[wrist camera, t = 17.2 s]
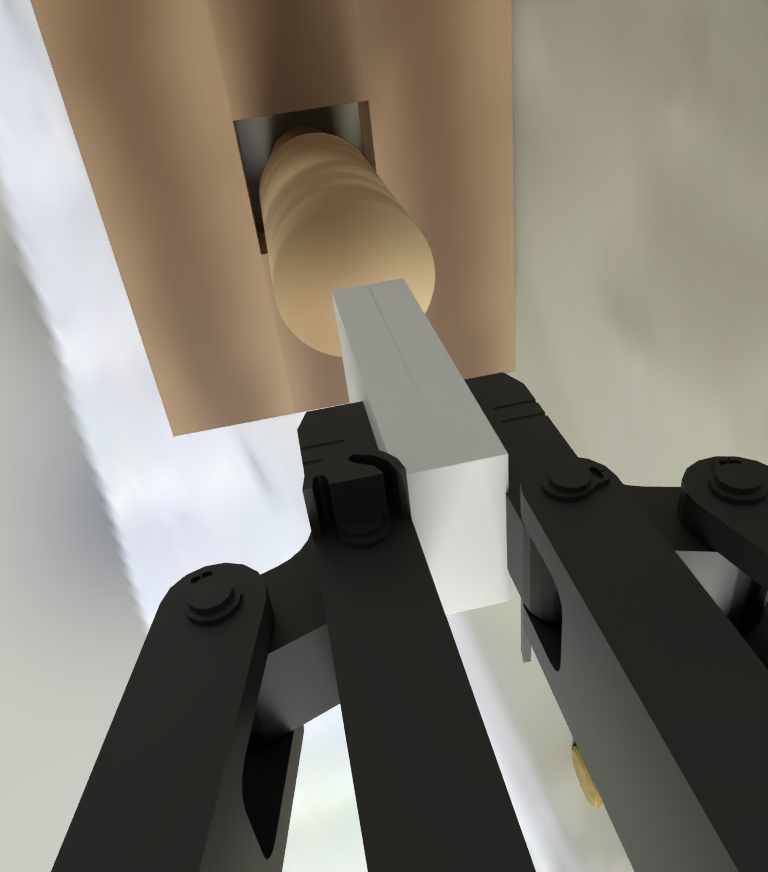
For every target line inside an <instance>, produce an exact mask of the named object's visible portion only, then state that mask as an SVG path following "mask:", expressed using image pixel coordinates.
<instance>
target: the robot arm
mask: <svg viewBox="0 0 768 872" xmlns="http://www.w3.org/2000/svg"><path fill="white" fill-rule="evenodd" d="M332 296H333V302H334V308H335V315H336V321H337V327H338V333H339V340H340V346H341V352H342V358H343V365H344V371H345V377H346V383H347V390H348V396H349V402H350V404H345V405H340V406H335V407H329V408H324V409H319V410H314V411H309V412H306V414H305V416H304V418H303V420H302V422H301V424H300V426H299V427H298V429H297V432H298V438H299V444H300V450H301V456H302V462H303V468H304V474H305V477H304V483H303V489H302V490H303V495H304V499H305V504H306V508H307V513H308V518H309V522H310V527H311V533H310V536H309V539H308V541H307V542H306V543H305V545H304V546H303V547H302V549H301V550H300V551H299V552H298V553H297V554H295V555H294V556H293V557H292V558H291V559H289V560H288V561H286V562H284V563H283V564H281V565H279V566H277V567H276V568H273V569H271V570H269V571H267V572H265V573H263V574H261V575H260V574H259V573H258V572H257V571H255V570H253V569H251V568H249V567H247V566H245V565H243V564H233V563H221V564H216V565H210V566H205V567H203V568H201V569H199V570H196V571H194V572H192V573H190V574H188V575H186V576H185V577H183V578H182V579H181V580H180V581H178V582H177V583H176V584H175V585H173V586H172V587H171V588H170V589H169V591H168V592H167V594H166V595H165V597H164V598H163V600H162V602H161V603H160V605H159V608H158V610H157V613H156V615H155V618H154V620H153V622H152V625H151V627H150V630H149V632H148V635H147V637H146V640H145V642H144V645H143V647H142V650H141V652H140V655H139V657H138V659H137V662H136V664H135V667H134V669H133V672H132V674H131V677H130V679H129V681H128V684H127V686H126V689H125V691H124V694H123V696H122V699H121V701H120V704H119V706H118V708H117V711H116V713H115V716H114V719H113V721H112V723H111V726H110V728H109V731H108V733H107V735H106V738H105V740H104V743H103V745H102V748H101V750H100V753H99V755H98V758H97V760H96V763H95V765H94V767H93V770H92V772H91V775H90V777H89V780H88V782H87V785H86V787H85V789H84V792H83V795H82V797H81V799H80V802H79V804H78V807H77V809H76V812H75V814H74V817H73V819H72V822H71V824H70V826H69V829H68V831H67V834H66V837H65V839H64V841H63V844H62V846H61V848H60V851H59V854H58V856H57V858H56V861H55V863H54V866H53V868H52V871H51V872H282V867H283V861H284V855H285V848H286V842H287V836H288V829H289V823H290V817H291V810H292V804H293V797H294V791H295V785H296V778H297V772H298V766H299V759H300V753H301V747H302V740H303V734H304V724H305V723H307V722H308V721H310V720H312V719H314V718H315V717H317V716H319V715H321V714H322V713H324V712H326V711H328V710H329V709H331V708H333V707H335V706H336V705H338V704H340V705H341V711H342V717H343V723H344V729H345V735H346V741H347V747H348V753H349V759H350V765H351V772H352V778H353V784H354V790H355V796H356V802H357V808H358V814H359V820H360V826H361V832H362V838H363V845H364V851H365V857H366V863H367V869H368V872H536V871H535V868H534V865H533V862H532V859H531V856H530V853H529V851H528V848H527V845H526V842H525V839H524V836H523V834H522V831H521V828H520V825H519V822H518V819H517V817H516V814H515V811H514V808H513V805H512V802H511V799H510V797H509V794H508V791H507V788H506V785H505V782H504V780H503V777H502V774H501V771H500V768H499V765H498V763H497V760H496V757H495V754H494V751H493V748H492V745H491V743H490V740H489V737H488V734H487V731H486V728H485V726H484V723H483V720H482V717H481V714H480V711H479V709H478V706H477V703H476V700H475V697H474V694H473V691H472V689H471V686H470V683H469V680H468V677H467V674H466V672H465V669H464V666H463V663H462V660H461V657H460V655H459V652H458V649H457V646H456V643H455V640H454V637H453V635H452V632H451V629H450V626H449V623H448V620H447V618H446V615H449V614H453V613H458V612H462V611H466V610H471V609H475V608H480V607H484V606H489V605H493V604H498V603H502V602H507V601H511V590H510V576H511V578H512V580H513V582H514V584H515V586H516V588H517V590H518V592H519V594H520V596H521V651H522V657H523V662H524V663H525V662H529V661H531V646H532V648H533V650H534V652H535V654H536V657H537V659H538V661H539V663H540V665H541V668H542V670H543V672H544V674H545V676H546V678H547V681H548V683H549V685H550V687H551V689H552V692H553V694H554V696H555V698H556V700H557V703H558V705H559V707H560V709H561V711H562V714H563V716H564V718H565V720H566V722H567V725H568V727H569V729H570V731H571V733H572V735H573V738H574V740H575V742H576V744H577V746H578V749H579V751H580V753H581V755H582V757H583V760H584V762H585V764H586V766H587V768H588V771H589V773H590V775H591V777H592V779H593V781H594V784H595V786H596V788H597V790H598V792H599V795H600V797H601V799H602V801H603V803H604V806H605V808H606V810H607V812H608V814H609V817H610V819H611V821H612V823H613V825H614V828H615V830H616V832H617V834H618V836H619V838H620V841H621V843H622V845H623V847H624V849H625V852H626V854H627V856H628V858H629V860H630V863H631V865H632V867H633V869H634V871H635V872H768V466H767V465H765V464H762V463H760V462H758V461H754V460H750V459H745V458H740V457H726V456H716V457H711V458H707V459H703V460H699V461H697V462H696V463H694V464H693V465H691V466H690V467H688V468H687V469H686V471H685V474H684V476H683V478H682V483H681V487H642V486H630V485H624V484H623V483H622V482H621V481H620V480H619V478H618V477H617V476H616V475H615V474H614V473H613V472H612V471H610V470H609V469H608V468H607V467H606V466H605V465H602V464H600V463H597V462H595V461H592V460H590V459H586V458H579V457H577V455H576V454H575V453H574V451H573V450H572V449H571V447H570V446H569V444H568V443H567V442H566V440H565V439H564V438H563V436H562V435H561V434H560V432H559V431H558V430H557V428H556V427H555V425H554V424H553V423H552V421H551V420H550V419H549V417H548V416H545V412H544V410H543V409H542V408H541V406H540V405H539V404H538V402H537V403H536V401H535V398H534V397H533V396H532V394H531V393H530V391H529V390H528V389H527V387H526V386H525V385H524V384H523V383H522V382H520V381H518V380H516V379H514V378H512V377H511V376H509V375H507V374H505V373H503V372H500V373H495V374H490V375H485V376H480V377H474V378H469V379H463V377H462V376H461V374H460V372H459V371H458V369H457V367H456V366H455V364H454V362H453V361H452V359H451V357H450V356H449V354H448V352H447V351H446V349H445V347H444V345H443V344H442V342H441V340H440V339H439V337H438V335H437V334H436V332H435V330H434V329H433V327H432V325H431V324H430V322H429V320H428V319H427V317H426V315H425V314H424V312H423V310H422V309H421V307H420V305H419V303H418V302H417V300H416V298H415V297H414V295H413V293H412V292H411V290H410V288H409V287H408V285H407V283H406V282H405V280H404V278H401V279H395V280H389V281H384V282H378V283H372V284H367V285H361V286H355V287H350V288H344V289H338V290H333V291H332Z"/></svg>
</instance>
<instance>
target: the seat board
mask: <svg viewBox="0 0 768 872" xmlns="http://www.w3.org/2000/svg"><path fill="white" fill-rule="evenodd" d="M30 1H31V4H32V7H33V10H34V13H35V16H36V19H37V22H38V25H39V28H40V31H41V34H42V37H43V40H44V43H45V47H46V50H47V53H48V56H49V59H50V62H51V65H52V68H53V71H54V74H55V77H56V80H57V83H58V86H59V89H60V92H61V95H62V98H63V101H64V104H65V107H66V110H67V113H68V116H69V120H70V123H71V126H72V129H73V132H74V135H75V138H76V141H77V144H78V147H79V150H80V153H81V156H82V159H83V162H84V165H85V168H86V171H87V174H88V177H89V180H90V183H91V186H92V189H93V193H94V196H95V199H96V202H97V205H98V208H99V211H100V214H101V217H102V220H103V223H104V226H105V229H106V232H107V235H108V238H109V241H110V244H111V247H112V250H113V253H114V256H115V259H116V262H117V265H118V269H119V272H120V275H121V278H122V281H123V284H124V287H125V290H126V293H127V296H128V299H129V302H130V305H131V308H132V311H133V314H134V317H135V320H136V323H137V326H138V329H139V332H140V335H141V338H142V342H143V345H144V348H145V351H146V354H147V357H148V360H149V363H150V366H151V369H152V372H153V375H154V378H155V381H156V384H157V387H158V390H159V393H160V396H161V399H162V402H163V405H164V408H165V411H166V415H167V418H168V421H169V424H170V427H171V430H172V433H173V436H178V435H183V434H189V433H194V432H199V431H204V430H210V429H215V428H220V427H225V426H231V425H236V424H241V423H246V422H252V421H257V420H262V419H267V418H273V417H278V416H283V415H288V414H294V413H299V412H304V411H309V410H314V409H320V408H325V407H330V406H335V405H341V404H346V403H350V402H349V396H348V390H347V383H346V377H345V371H344V365H343V358H342V357H338V356H333V355H329V354H325V353H323V352H320V351H317V350H315V349H314V348H312V347H310V346H308V345H307V344H305V343H304V342H302V341H301V340H300V339H299V338H298V337H297V336H296V335H294V334H293V333H292V331H291V330H290V329H289V328H288V326H287V325H286V323H285V322H284V320H283V319H282V317H281V315H280V312H279V310H278V308H277V304H276V301H275V296H274V290H273V283H272V277H271V270H270V263H269V257H268V250H267V244H266V237H265V231H264V232H258V229H257V224H256V219H255V215H254V210H253V205H252V200H251V196H250V191H249V186H248V181H247V177H246V172H245V167H244V162H243V157H242V153H241V148H240V143H239V138H238V134H237V129H236V124H235V120H242V119H248V118H255V117H261V116H268V115H275V114H281V113H288V112H294V111H301V110H308V109H314V108H321V107H327V106H334V105H340V104H347V103H354V102H358V108H359V117H360V125H361V133H362V142H363V150H364V157H365V159H366V160H367V161H368V163H369V164H370V165H371V166H372V168H373V169H374V170H375V172H376V173H377V174H378V176H379V177H380V178H381V180H382V181H383V182H384V183H385V185H386V186H387V187H388V189H389V190H390V191H391V193H392V194H393V195H394V197H395V198H396V199H397V201H398V202H399V203H400V204H401V206H402V207H403V208H404V210H405V211H406V212H407V214H408V215H409V216H410V218H411V219H412V220H413V222H414V223H415V224H416V225H417V227H418V228H419V229H420V231H421V232H422V234H423V235H424V237H425V239H426V240H427V242H428V245H429V247H430V249H431V252H432V256H433V259H434V266H435V285H434V291H433V295H432V299H431V302H430V304H429V307H428V309H427V311H426V313H425V315H426V317H427V319H428V320H429V322H430V324H431V325H432V327H433V329H434V330H435V332H436V334H437V335H438V337H439V339H440V340H441V342H442V344H443V345H444V347H445V349H446V351H447V352H448V354H449V356H450V357H451V359H452V361H453V362H454V364H455V366H456V367H457V369H458V371H459V372H460V374H461V376H462V377H463V379H469V378H474V377H480V376H485V375H490V374H495V373H500V372H503V373H508V372H514V371H515V275H514V178H513V81H512V0H30Z"/></svg>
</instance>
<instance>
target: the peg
mask: <svg viewBox="0 0 768 872" xmlns="http://www.w3.org/2000/svg"><path fill="white" fill-rule="evenodd" d="M259 194H260V204H261V210H262V217H263V224H264V230H265V237H266V244H267V250H268V257H269V263H270V270H271V277H272V283H273V290H274V296H275V301H276V304H277V308H278V310H279V312H280V315H281V317H282V319H283V320H284V322H285V323H286V325H287V326H288V328H289V329H290V330H291V331H292V333H293V334H294V335H296V336H297V337H298V338H299V339H300V340H301V341H302V342H304V343H305V344H307V345H308V346H310V347H312V348H314V349H315V350H317V351H320V352H323V353H325V354H329V355H333V356H338V357H342V352H341V346H340V340H339V333H338V327H337V321H336V315H335V308H334V302H333V296H332V291H333V290H338V289H344V288H350V287H355V286H361V285H367V284H372V283H378V282H384V281H389V280H395V279H401V278H404V280H405V282H406V283H407V285H408V287H409V288H410V290H411V292H412V293H413V295H414V297H415V298H416V300H417V302H418V303H419V305H420V307H421V309H422V310H423V312H424V314H425V313H426V311H427V309H428V307H429V304H430V302H431V299H432V295H433V291H434V285H435V266H434V259H433V256H432V252H431V249H430V247H429V245H428V242H427V240H426V239H425V237H424V235H423V234H422V232H421V231H420V229H419V228H418V227H417V225H416V224H415V223H414V222H413V220H412V219H411V218H410V216H409V215H408V214H407V212H406V211H405V210H404V208H403V207H402V206H401V204H400V203H399V202H398V201H397V199H396V198H395V197H394V195H393V194H392V193H391V191H390V190H389V189H388V187H387V186H386V185H385V183H384V182H383V181H382V180H381V178H380V177H379V176H378V174H377V173H376V172H375V170H374V169H373V168H372V166H371V165H370V164H369V163H368V161H367V160H366V159H365V157H364V156H363V155H362V154H361V152H360V151H359V150H358V149H357V148H356V147H354V146H353V145H352V144H351V143H349V142H348V141H346V140H344V139H342V138H340V137H337V136H335V135H331V134H326V133H324V132H323V131H321V130H319V129H317V128H314V127H308V126H301V127H296V128H293V129H290V130H288V131H287V132H285V133H284V134H282V135H281V136H280V137H279V138H278V140H277V141H276V142H275V144H274V146H273V148H272V151H271V154H270V159H269V160H268V162H267V164H266V166H265V168H264V170H263V173H262V177H261V181H260V188H259Z"/></svg>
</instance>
